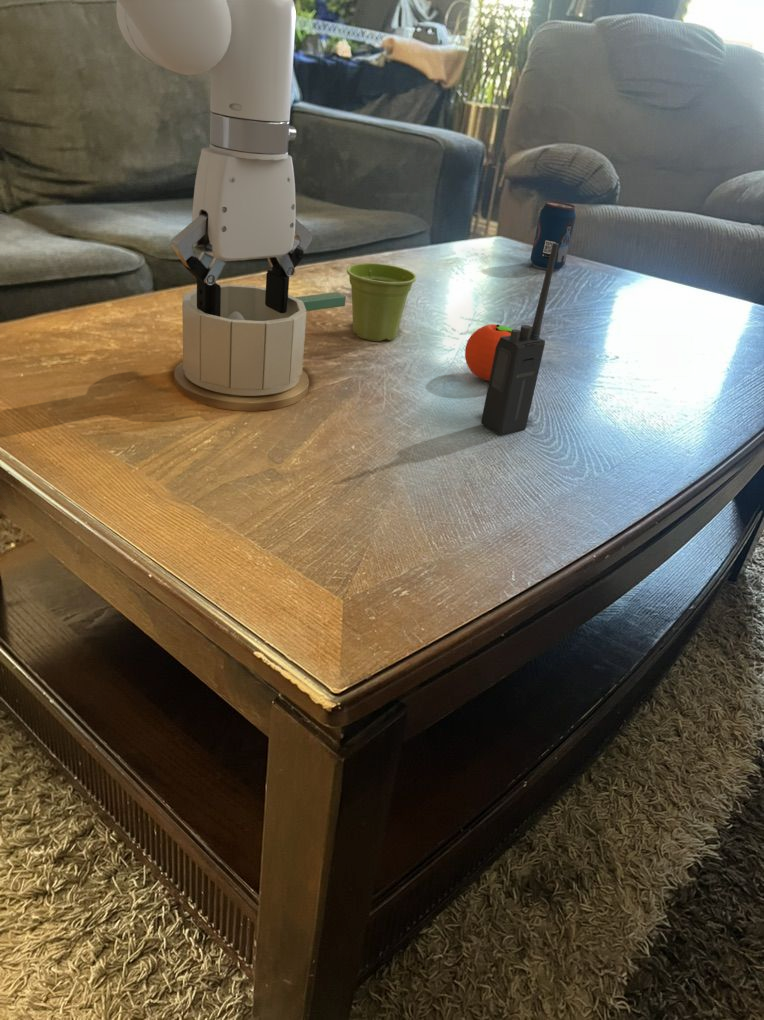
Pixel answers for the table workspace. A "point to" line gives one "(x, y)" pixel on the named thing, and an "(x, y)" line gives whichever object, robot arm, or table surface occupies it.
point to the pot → (248, 341)
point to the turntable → (237, 400)
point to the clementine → (484, 349)
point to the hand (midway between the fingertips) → (243, 313)
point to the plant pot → (378, 299)
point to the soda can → (553, 234)
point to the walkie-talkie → (516, 370)
